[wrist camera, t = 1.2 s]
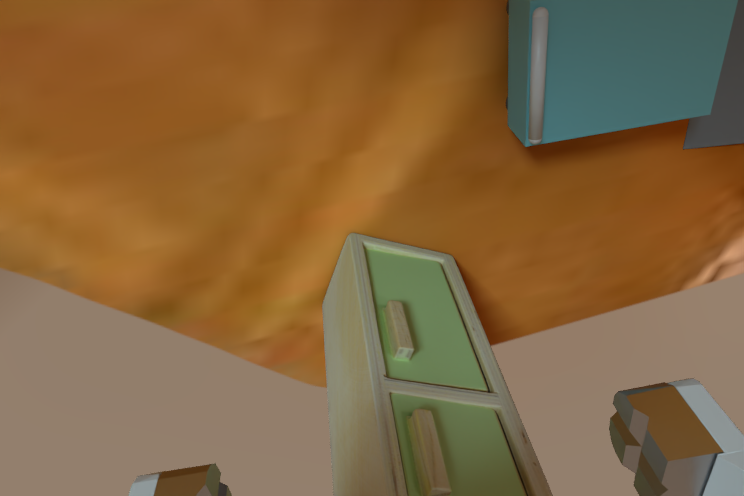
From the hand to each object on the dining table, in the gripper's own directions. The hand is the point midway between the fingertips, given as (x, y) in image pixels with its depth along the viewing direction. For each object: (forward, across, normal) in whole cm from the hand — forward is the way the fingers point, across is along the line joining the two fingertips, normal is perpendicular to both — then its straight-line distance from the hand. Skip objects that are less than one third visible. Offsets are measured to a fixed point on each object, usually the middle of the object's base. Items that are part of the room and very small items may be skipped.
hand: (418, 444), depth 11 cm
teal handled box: (+23, -14, -1) cm, 27 cm away
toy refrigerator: (+24, -1, +13) cm, 27 cm away
